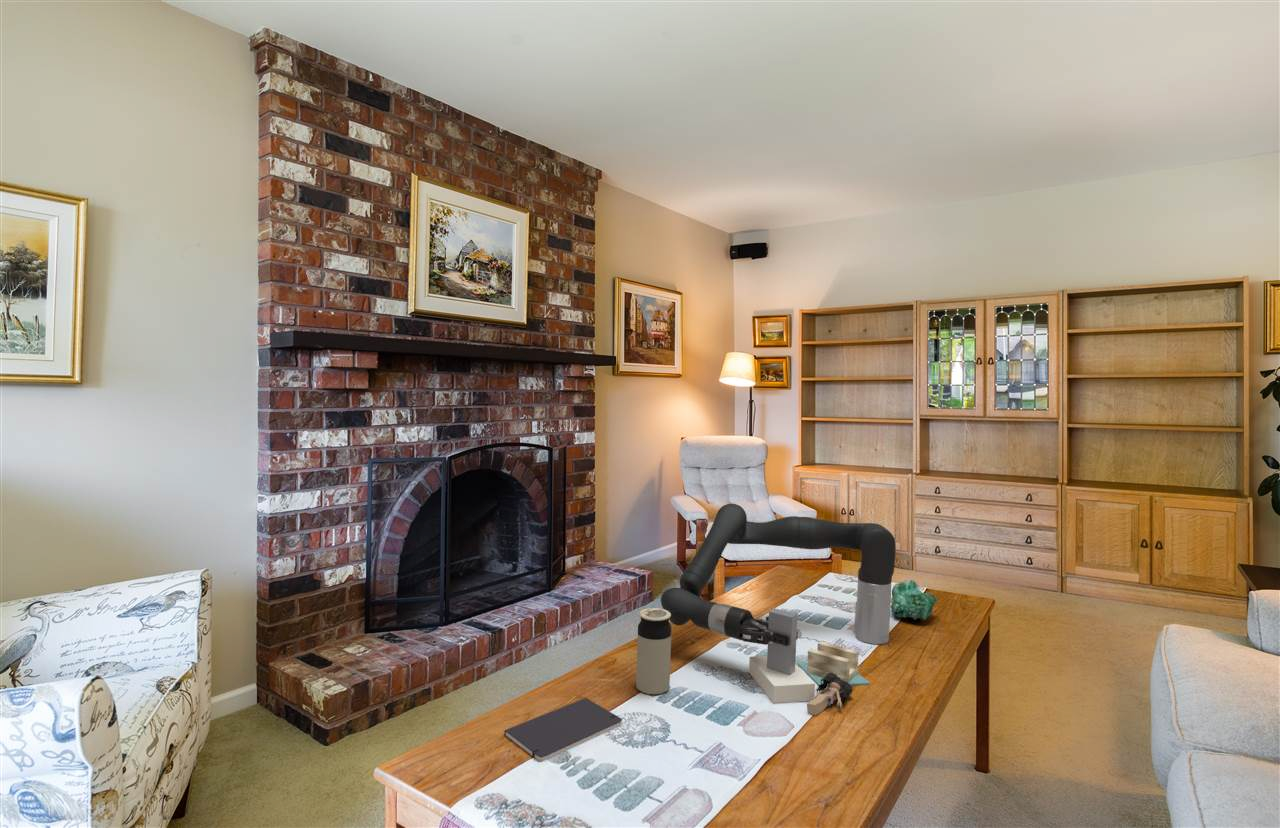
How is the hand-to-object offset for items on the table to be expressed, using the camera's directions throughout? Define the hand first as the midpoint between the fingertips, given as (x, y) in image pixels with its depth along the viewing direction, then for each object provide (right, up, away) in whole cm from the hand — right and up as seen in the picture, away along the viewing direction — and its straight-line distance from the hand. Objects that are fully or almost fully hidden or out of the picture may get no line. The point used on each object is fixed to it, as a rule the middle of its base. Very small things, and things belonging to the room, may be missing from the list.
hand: (792, 638), depth 154 cm
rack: (+12, -12, +10) cm, 20 cm away
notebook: (-52, -13, -20) cm, 57 cm away
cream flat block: (-3, -12, +2) cm, 13 cm away
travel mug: (-34, -12, -1) cm, 36 cm away
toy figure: (+7, -13, -6) cm, 16 cm away
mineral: (+51, -12, +54) cm, 75 cm away
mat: (+12, -12, +10) cm, 20 cm away
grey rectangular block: (-2, -8, +2) cm, 9 cm away
